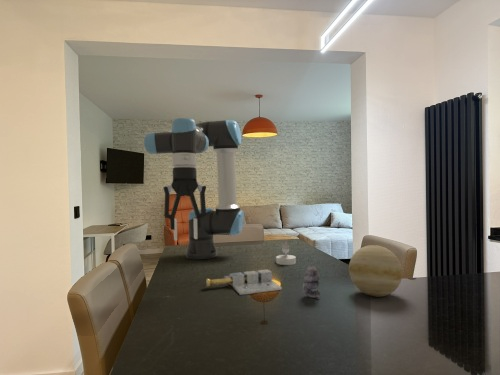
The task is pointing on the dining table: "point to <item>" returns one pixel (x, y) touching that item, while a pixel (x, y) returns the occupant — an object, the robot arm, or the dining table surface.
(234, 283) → the hinge leaves
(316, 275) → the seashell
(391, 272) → the decorative ball
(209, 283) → the pin
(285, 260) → the wall hook
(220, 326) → the dining table surface
